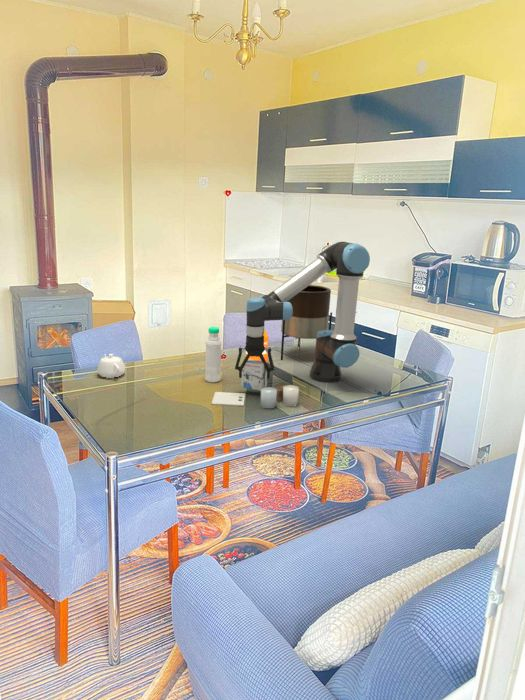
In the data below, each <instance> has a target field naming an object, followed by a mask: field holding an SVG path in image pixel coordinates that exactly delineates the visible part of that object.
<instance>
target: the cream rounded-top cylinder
mask: <svg viewBox="0 0 525 700" xmlns="http://www.w3.org/2000/svg"><path fill="white" fill-rule="evenodd" d="M283 386H284V387H283V401H281V402H282V403H281V404H282V405H283V404H285V405H288V406H287V407H290V406H293V407H295V406H294V405H297V404H299V391H300V388H299V386H296V385H292V384H286V385H283ZM285 405H284V406H285ZM297 406H298V405H297Z"/></svg>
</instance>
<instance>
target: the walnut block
mask: <svg viewBox="0 0 525 700" xmlns="http://www.w3.org/2000/svg"><path fill="white" fill-rule="evenodd" d="M284 386H285V385H277V386H272V388H275V389H276V390H277V396H276V402H277V401H279V402H283V387H284Z"/></svg>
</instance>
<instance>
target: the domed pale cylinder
mask: <svg viewBox="0 0 525 700" xmlns="http://www.w3.org/2000/svg"><path fill="white" fill-rule="evenodd" d="M272 387H273V386H272ZM272 387H270V386H268V387H265V388H262V389H261V390H260V402H259V403H260V405H259V407H260V408H262V409H264V408H273V409H275V408H276V407H277V401H276V396H277V390H276V389H275V388H272ZM274 407H275V408H274Z"/></svg>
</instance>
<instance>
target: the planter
mask: <svg viewBox="0 0 525 700" xmlns="http://www.w3.org/2000/svg"><path fill="white" fill-rule="evenodd" d="M331 293H332V290H331V289H330V288H329V287H326V286H322V285H314V284H310V285H309V286H307V287H306V288H305V289H303V290H302V291H301V292H299V293H298V294H297V295H295V296H294V297H292V298H291V299H290V300H288V301H287V302H290V303H291V305H292V308H293V314H292V317H291V318H290V319H287V320H281V324H280V325H281V327H280V329H281V330H280V331H281V333H282V335H281V350H280V361H283V360H284V344H285V338H289V337H290V338H296V339H298V342H297V348H298V347H300V345H301V339H303V340H304V339H308V340H310V339H311V340H312V339H313V340H314V339H316V336H317V332H318V331H321V330H332V323H333V321H332V319H333V312H330V305H331Z"/></svg>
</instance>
